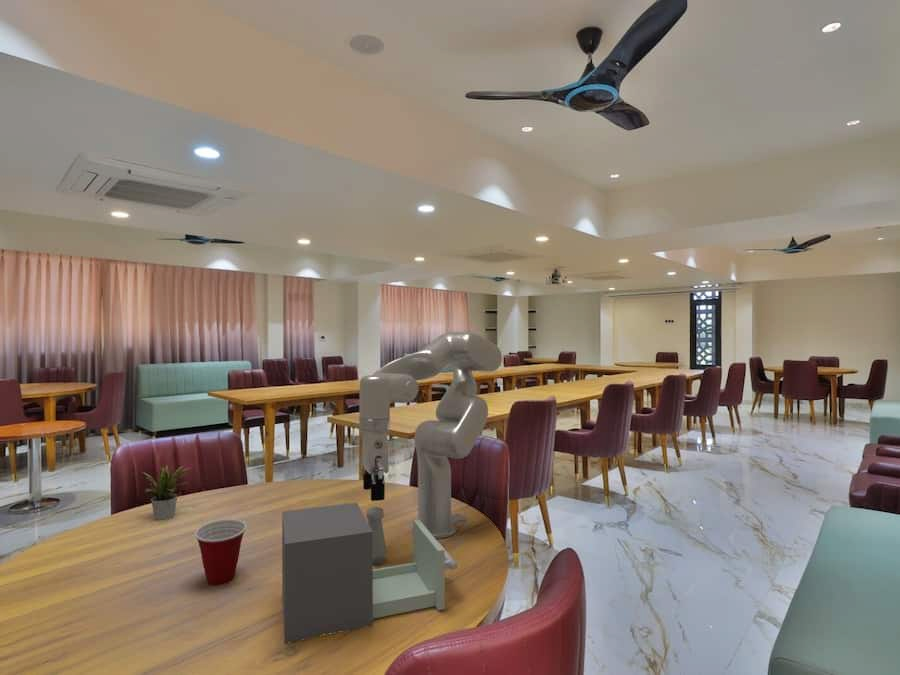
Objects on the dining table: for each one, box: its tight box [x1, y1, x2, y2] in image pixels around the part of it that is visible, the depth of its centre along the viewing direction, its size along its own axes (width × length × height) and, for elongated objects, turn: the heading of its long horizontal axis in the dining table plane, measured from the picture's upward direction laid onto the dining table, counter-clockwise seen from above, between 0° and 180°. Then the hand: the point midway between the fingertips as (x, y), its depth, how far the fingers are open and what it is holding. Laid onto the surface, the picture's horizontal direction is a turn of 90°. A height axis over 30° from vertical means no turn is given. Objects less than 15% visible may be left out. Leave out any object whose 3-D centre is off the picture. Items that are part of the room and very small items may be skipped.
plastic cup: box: [194, 518, 248, 586], centre depth 111 cm, size 11×11×12 cm
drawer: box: [373, 518, 458, 620], centre depth 105 cm, size 20×18×12 cm
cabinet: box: [281, 502, 374, 644], centre depth 99 cm, size 16×18×18 cm
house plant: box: [141, 464, 191, 521], centre depth 150 cm, size 14×14×16 cm
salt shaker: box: [365, 506, 387, 566], centre depth 121 cm, size 6×6×13 cm
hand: (373, 494), depth 120 cm, fingers open, 9 cm apart
